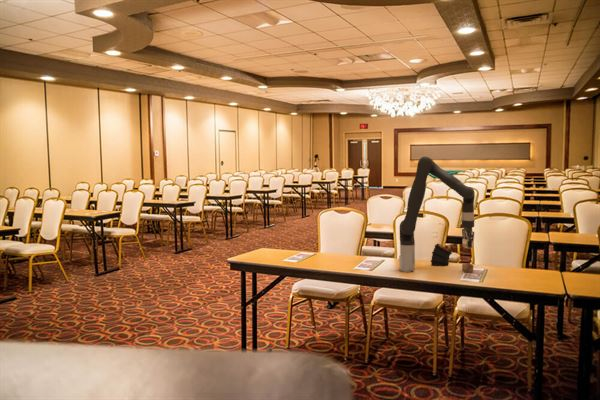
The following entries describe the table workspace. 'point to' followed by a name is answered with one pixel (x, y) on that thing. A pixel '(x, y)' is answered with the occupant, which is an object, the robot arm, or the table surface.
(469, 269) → the walnut block
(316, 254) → the table surface
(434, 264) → the black ridged slab
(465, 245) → the maple block
